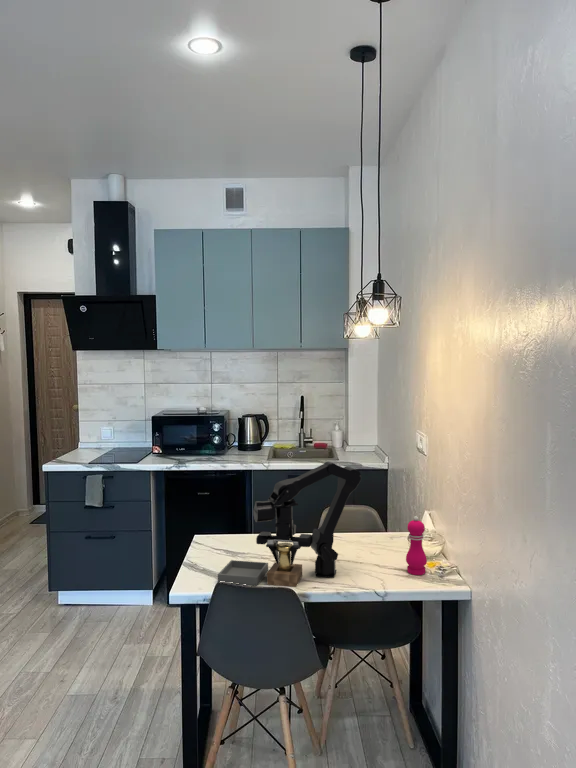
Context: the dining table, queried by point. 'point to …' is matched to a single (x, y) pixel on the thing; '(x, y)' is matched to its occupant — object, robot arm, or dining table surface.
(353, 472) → the robot arm
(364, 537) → the dining table surface
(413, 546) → the pepper mill
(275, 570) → the walnut block
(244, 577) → the charcoal tray
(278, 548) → the brass pin
